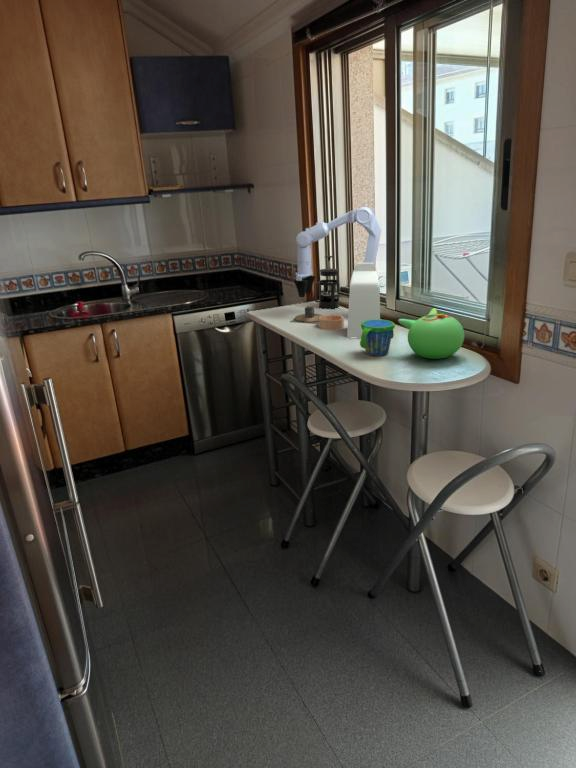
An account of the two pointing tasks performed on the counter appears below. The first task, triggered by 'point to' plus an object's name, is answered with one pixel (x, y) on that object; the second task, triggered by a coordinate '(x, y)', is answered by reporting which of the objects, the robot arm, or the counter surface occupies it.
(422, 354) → the green teapot
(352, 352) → the counter surface
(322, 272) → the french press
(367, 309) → the milk
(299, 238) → the robot arm
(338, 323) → the bowl
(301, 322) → the mat
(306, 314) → the lid
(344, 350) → the counter surface
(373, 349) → the snack cup
